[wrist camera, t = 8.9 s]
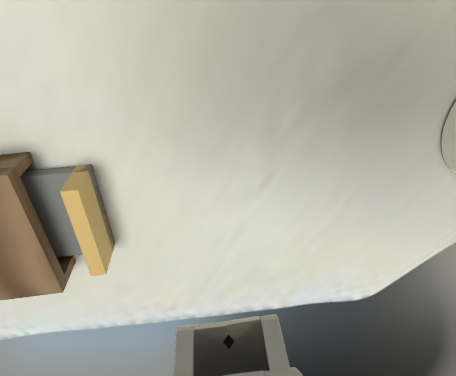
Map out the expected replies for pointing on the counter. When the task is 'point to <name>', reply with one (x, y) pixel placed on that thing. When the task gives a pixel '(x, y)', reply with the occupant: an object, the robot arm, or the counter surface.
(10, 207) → the overhang shelf
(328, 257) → the counter surface
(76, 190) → the grey board with lip
